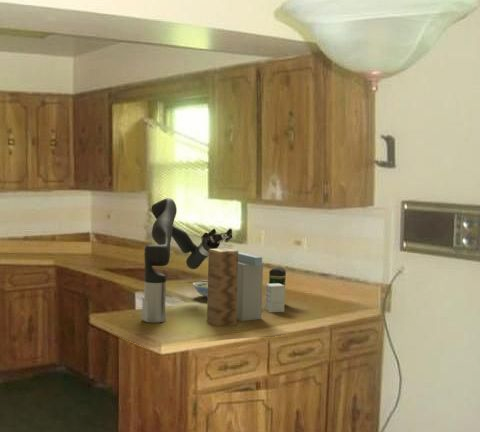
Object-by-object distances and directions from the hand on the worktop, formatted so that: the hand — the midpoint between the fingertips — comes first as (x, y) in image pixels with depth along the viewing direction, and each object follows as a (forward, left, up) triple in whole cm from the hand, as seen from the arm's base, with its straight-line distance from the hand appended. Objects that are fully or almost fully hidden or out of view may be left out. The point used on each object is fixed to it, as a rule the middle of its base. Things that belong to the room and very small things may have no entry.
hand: (223, 230), depth 342 cm
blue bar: (+3, -15, -13) cm, 20 cm away
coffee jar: (+33, +2, -38) cm, 50 cm away
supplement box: (+24, -10, -38) cm, 46 cm away
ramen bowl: (+13, +30, -38) cm, 50 cm away
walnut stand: (-13, -24, -38) cm, 46 cm away
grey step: (+3, -17, -38) cm, 42 cm away
